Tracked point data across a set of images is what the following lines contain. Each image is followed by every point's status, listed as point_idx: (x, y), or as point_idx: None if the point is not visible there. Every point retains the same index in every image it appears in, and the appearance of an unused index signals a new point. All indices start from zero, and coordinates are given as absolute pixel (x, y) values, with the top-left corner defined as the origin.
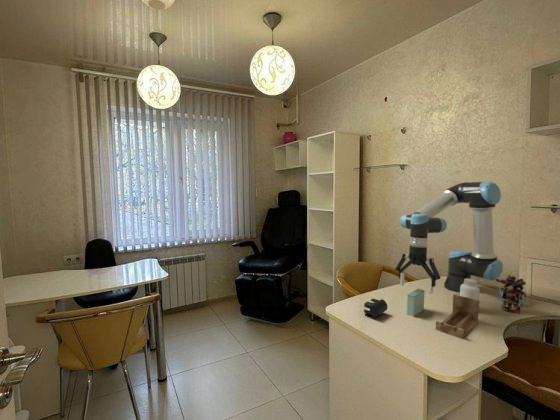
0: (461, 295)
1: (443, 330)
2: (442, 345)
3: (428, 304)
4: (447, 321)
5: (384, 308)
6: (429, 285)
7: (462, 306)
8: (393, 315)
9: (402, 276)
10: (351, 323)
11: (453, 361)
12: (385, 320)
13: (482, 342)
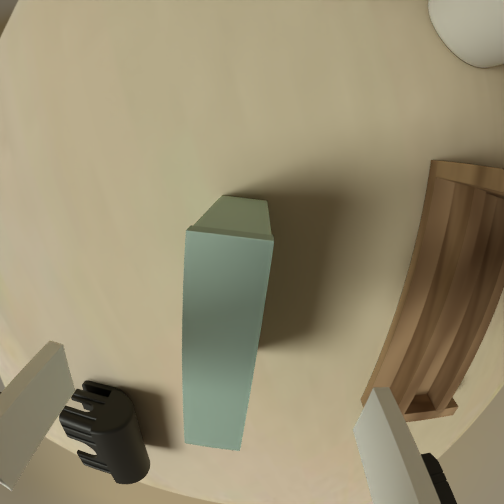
0: (494, 18)
1: None
2: None
3: (268, 73)
4: (416, 388)
5: (137, 439)
6: (372, 496)
7: None
8: (167, 388)
9: (25, 456)
10: None
11: None
12: (172, 435)
13: (486, 368)
